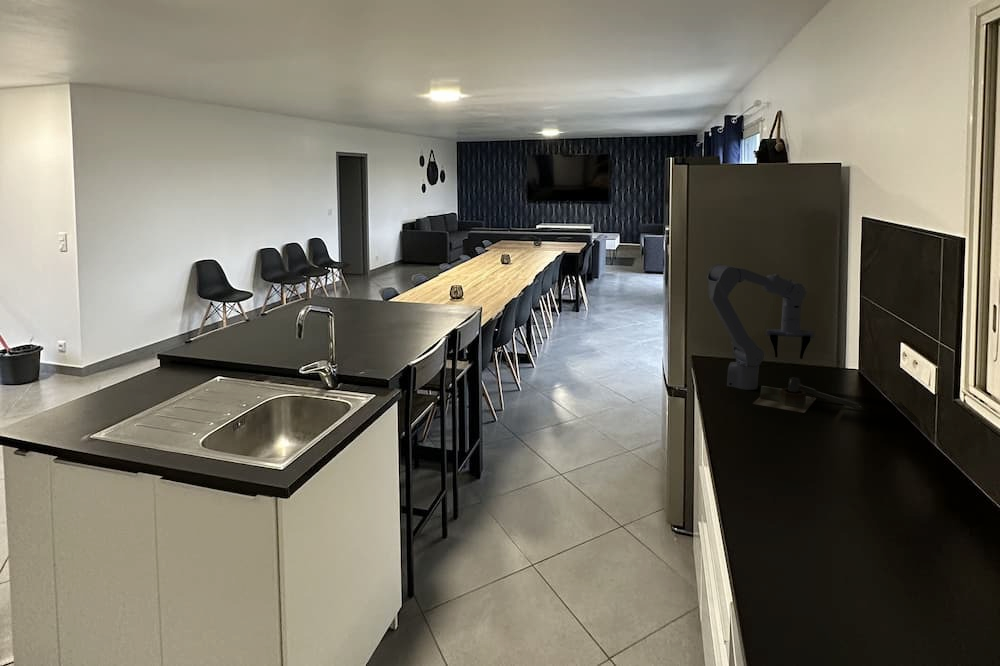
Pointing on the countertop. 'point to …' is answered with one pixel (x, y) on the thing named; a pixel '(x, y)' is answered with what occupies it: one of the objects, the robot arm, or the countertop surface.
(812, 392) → the caliper
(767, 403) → the hinge base
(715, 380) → the countertop surface
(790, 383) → the steel pin
